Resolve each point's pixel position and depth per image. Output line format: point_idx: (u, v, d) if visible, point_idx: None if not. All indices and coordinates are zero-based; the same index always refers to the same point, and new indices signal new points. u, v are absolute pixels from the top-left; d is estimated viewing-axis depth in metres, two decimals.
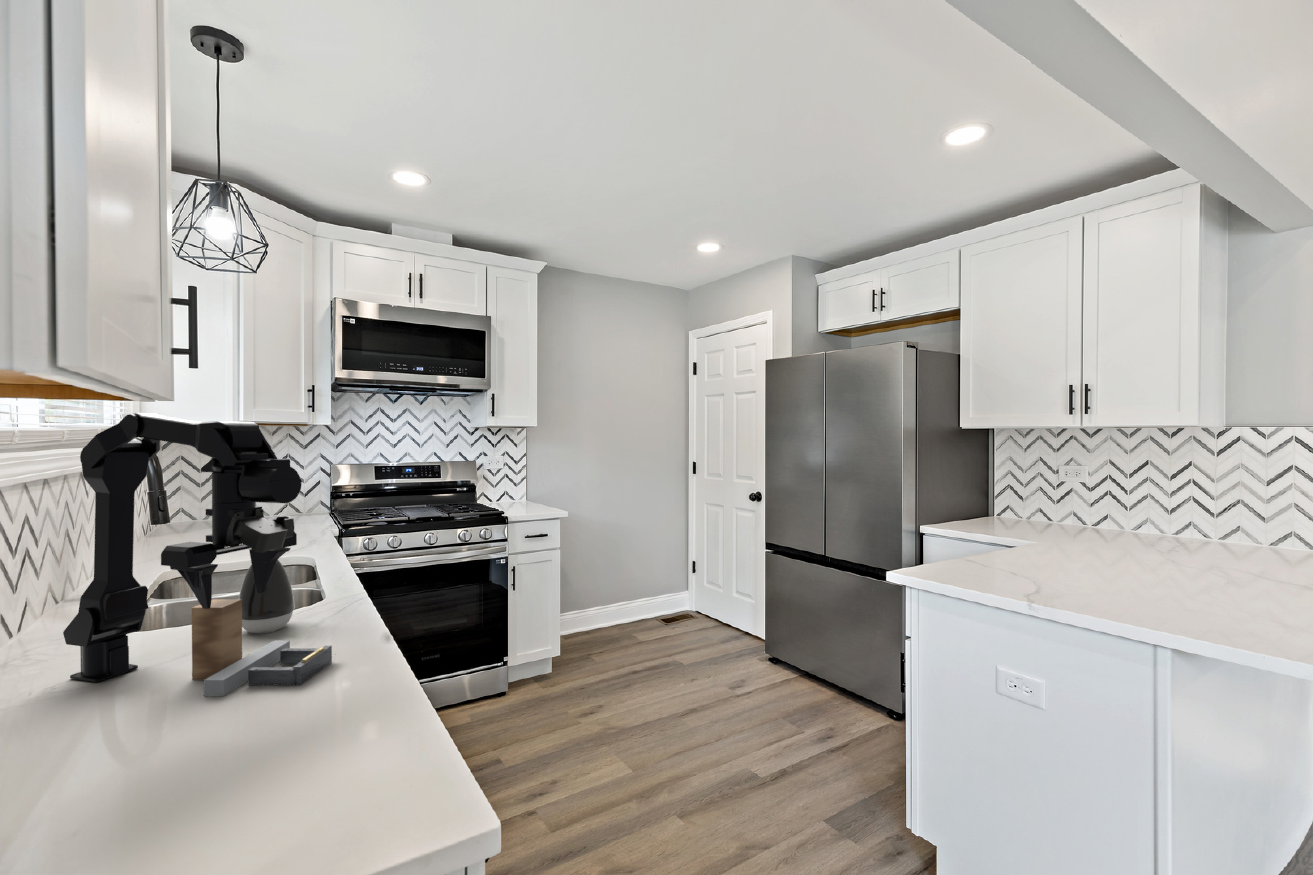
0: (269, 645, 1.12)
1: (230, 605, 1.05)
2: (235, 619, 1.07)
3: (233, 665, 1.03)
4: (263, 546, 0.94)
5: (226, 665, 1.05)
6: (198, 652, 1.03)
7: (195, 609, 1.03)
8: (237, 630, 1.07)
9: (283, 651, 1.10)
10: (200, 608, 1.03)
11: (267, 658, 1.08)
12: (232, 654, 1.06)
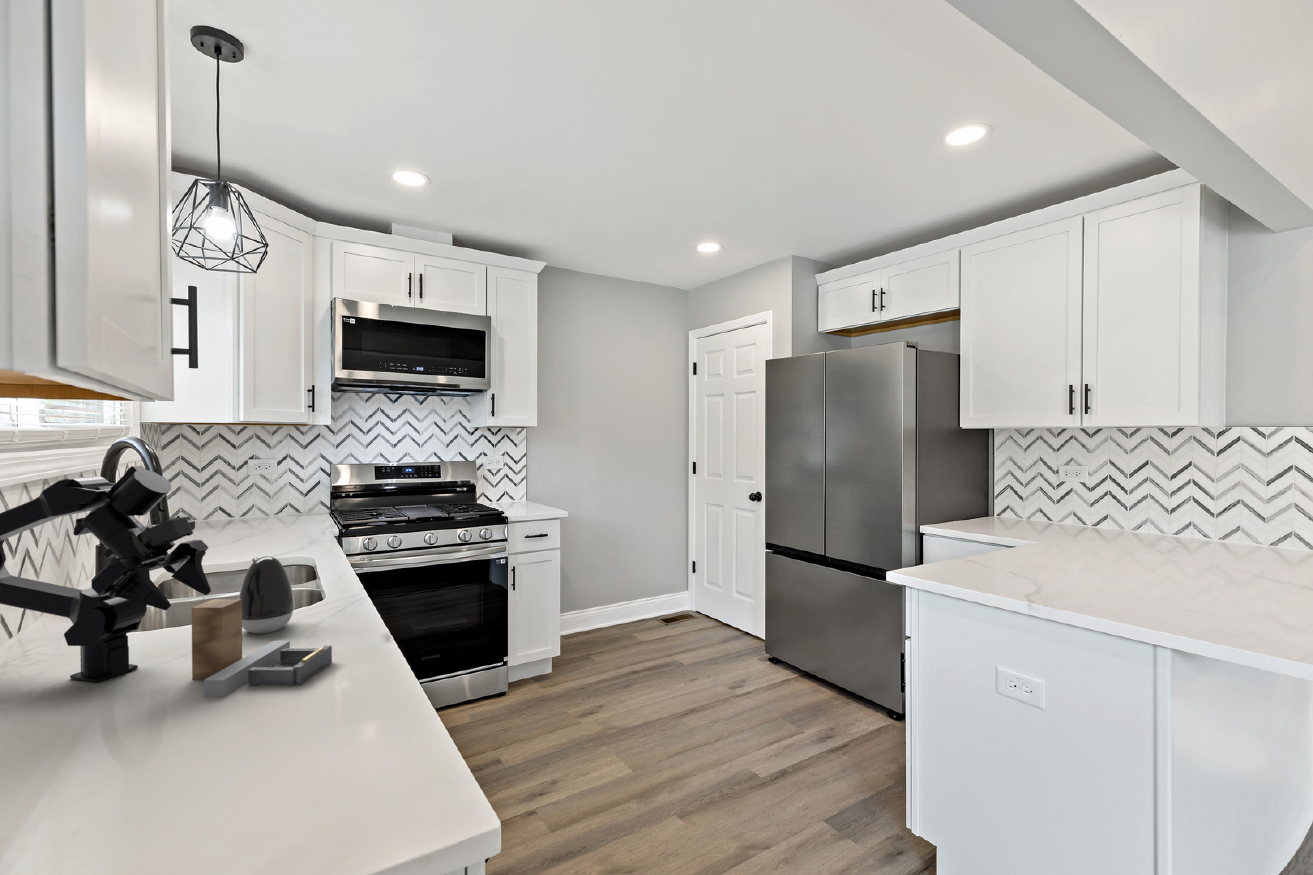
0: (269, 645, 1.12)
1: (230, 605, 1.05)
2: (235, 619, 1.07)
3: (233, 665, 1.03)
4: (175, 531, 1.04)
5: (226, 665, 1.05)
6: (198, 652, 1.03)
7: (195, 609, 1.03)
8: (237, 630, 1.07)
9: (283, 651, 1.10)
10: (200, 608, 1.03)
11: (267, 658, 1.08)
12: (232, 654, 1.06)
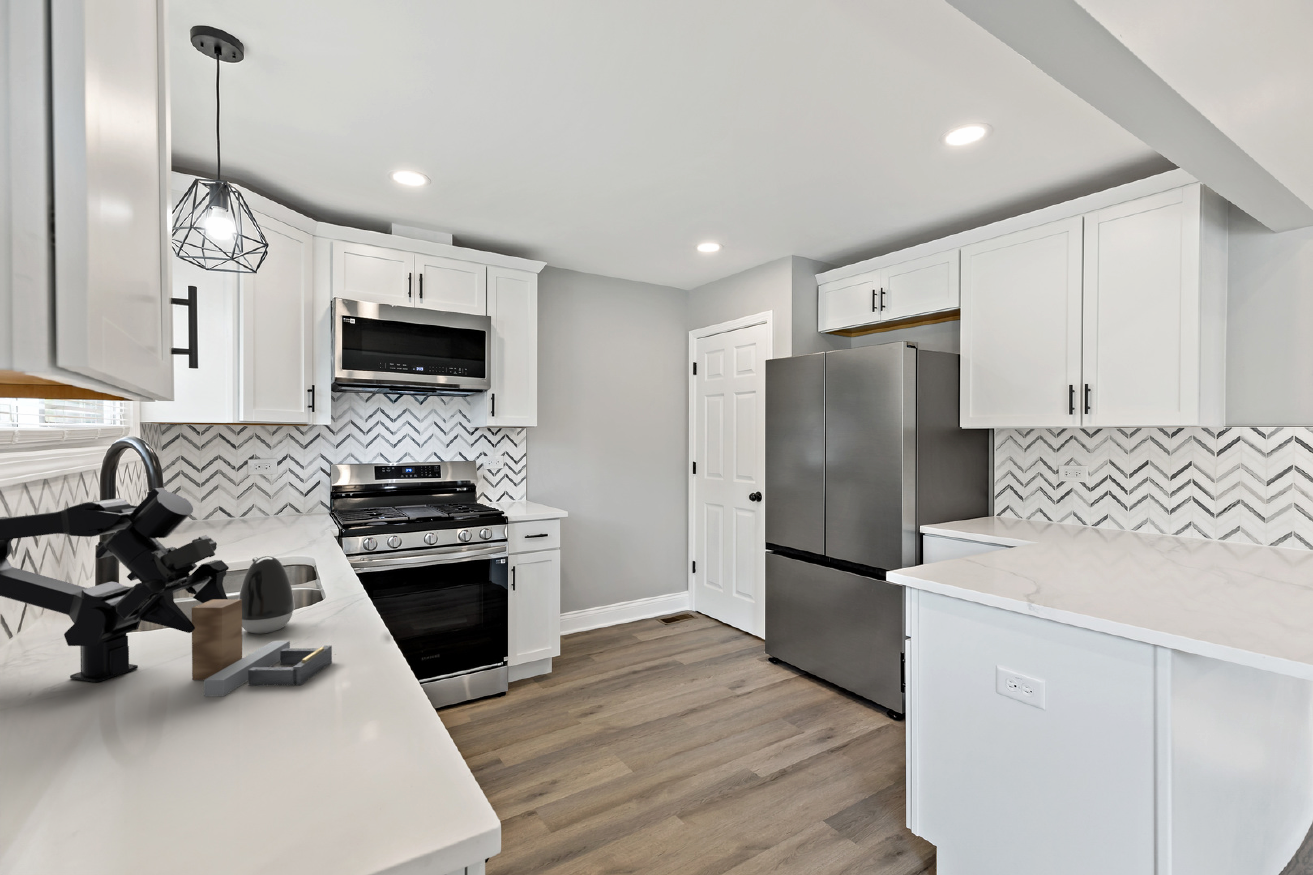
0: (269, 645, 1.12)
1: (230, 605, 1.05)
2: (235, 619, 1.07)
3: (233, 665, 1.03)
4: (197, 553, 1.04)
5: (226, 665, 1.05)
6: (198, 652, 1.03)
7: (195, 609, 1.03)
8: (237, 630, 1.07)
9: (283, 651, 1.10)
10: (200, 608, 1.03)
11: (267, 658, 1.08)
12: (232, 654, 1.06)
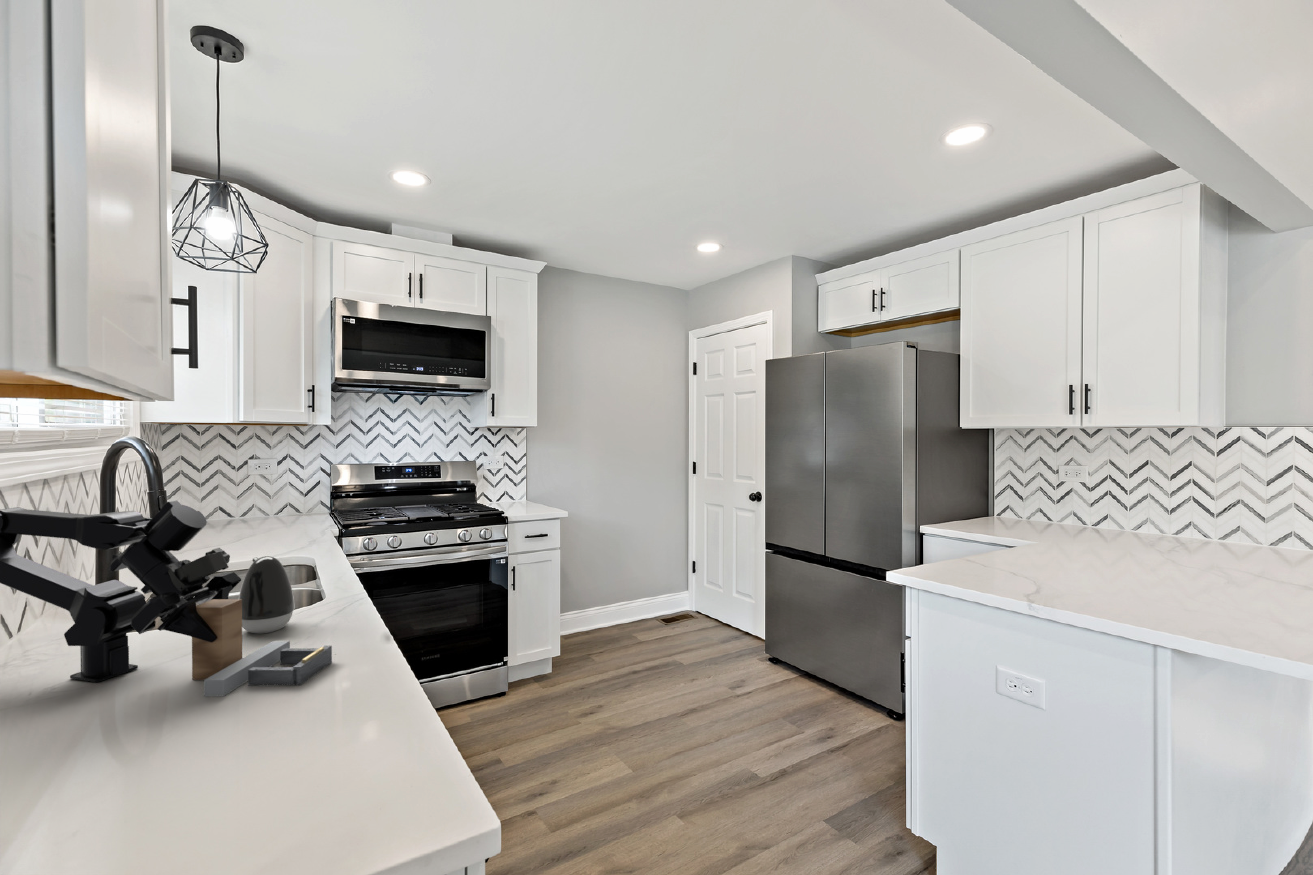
0: (269, 645, 1.12)
1: (230, 605, 1.05)
2: (235, 619, 1.07)
3: (233, 665, 1.03)
4: (211, 566, 1.04)
5: (226, 665, 1.05)
6: (198, 652, 1.03)
7: None
8: (237, 630, 1.07)
9: (283, 651, 1.10)
10: (200, 608, 1.03)
11: (267, 658, 1.08)
12: (232, 654, 1.06)
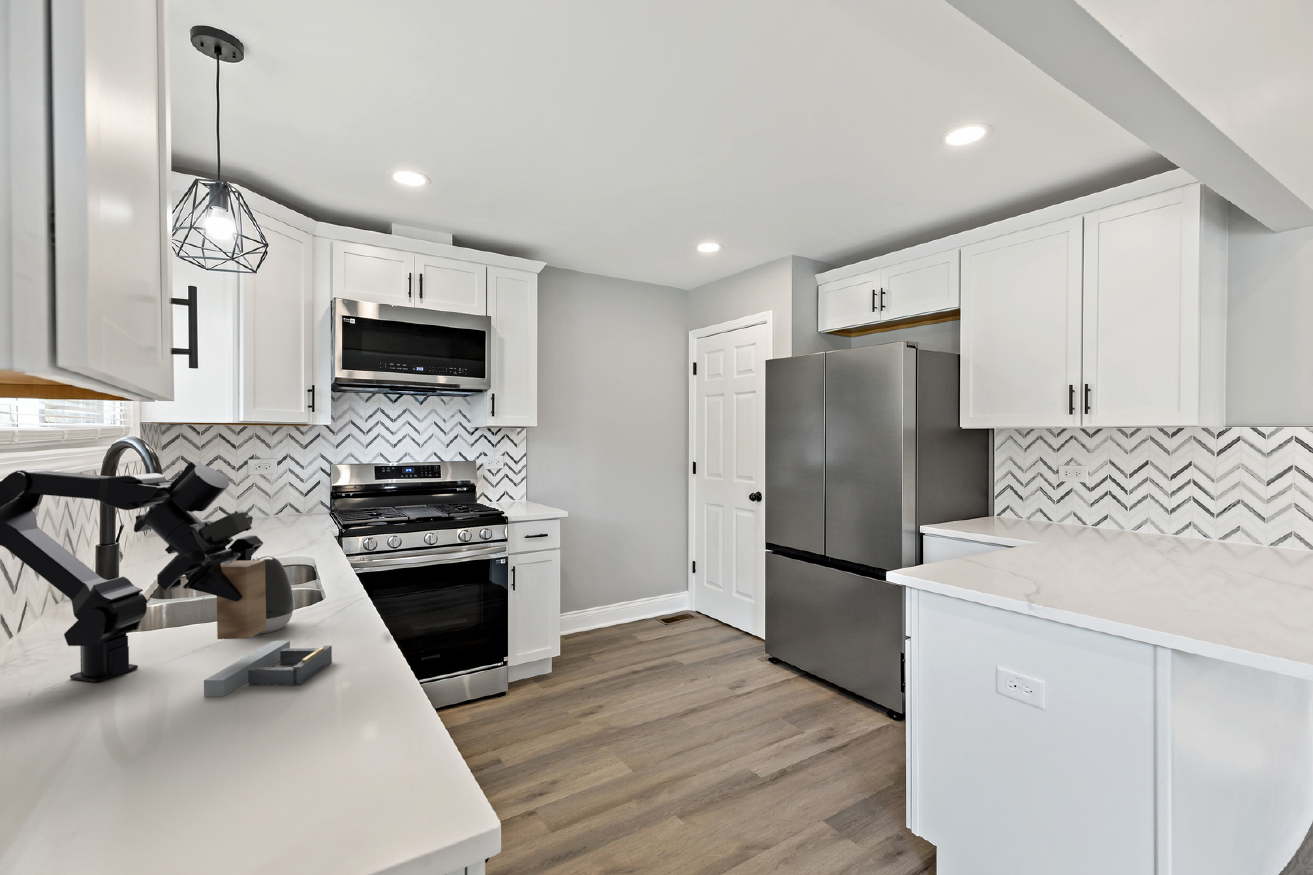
0: (269, 645, 1.12)
1: (254, 565, 1.05)
2: (259, 579, 1.07)
3: (233, 665, 1.03)
4: (235, 526, 1.04)
5: (251, 625, 1.04)
6: (223, 611, 1.03)
7: None
8: (261, 591, 1.07)
9: (283, 651, 1.10)
10: (224, 567, 1.03)
11: (267, 658, 1.08)
12: (256, 614, 1.06)
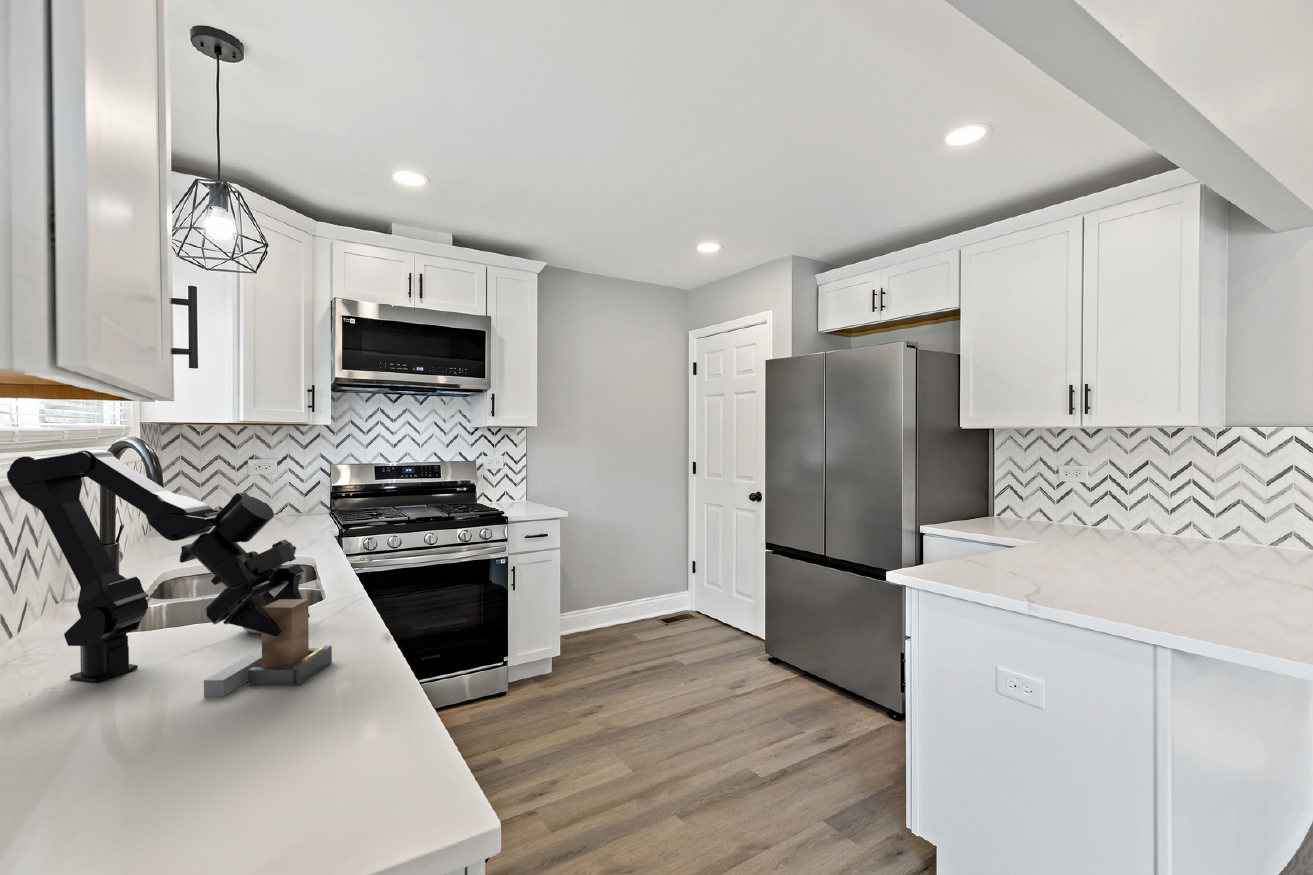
0: None
1: (299, 605, 1.06)
2: (303, 619, 1.07)
3: (233, 665, 1.03)
4: (281, 557, 1.04)
5: None
6: (268, 652, 1.04)
7: (265, 609, 1.04)
8: (304, 630, 1.07)
9: None
10: (270, 608, 1.04)
11: None
12: (300, 654, 1.06)
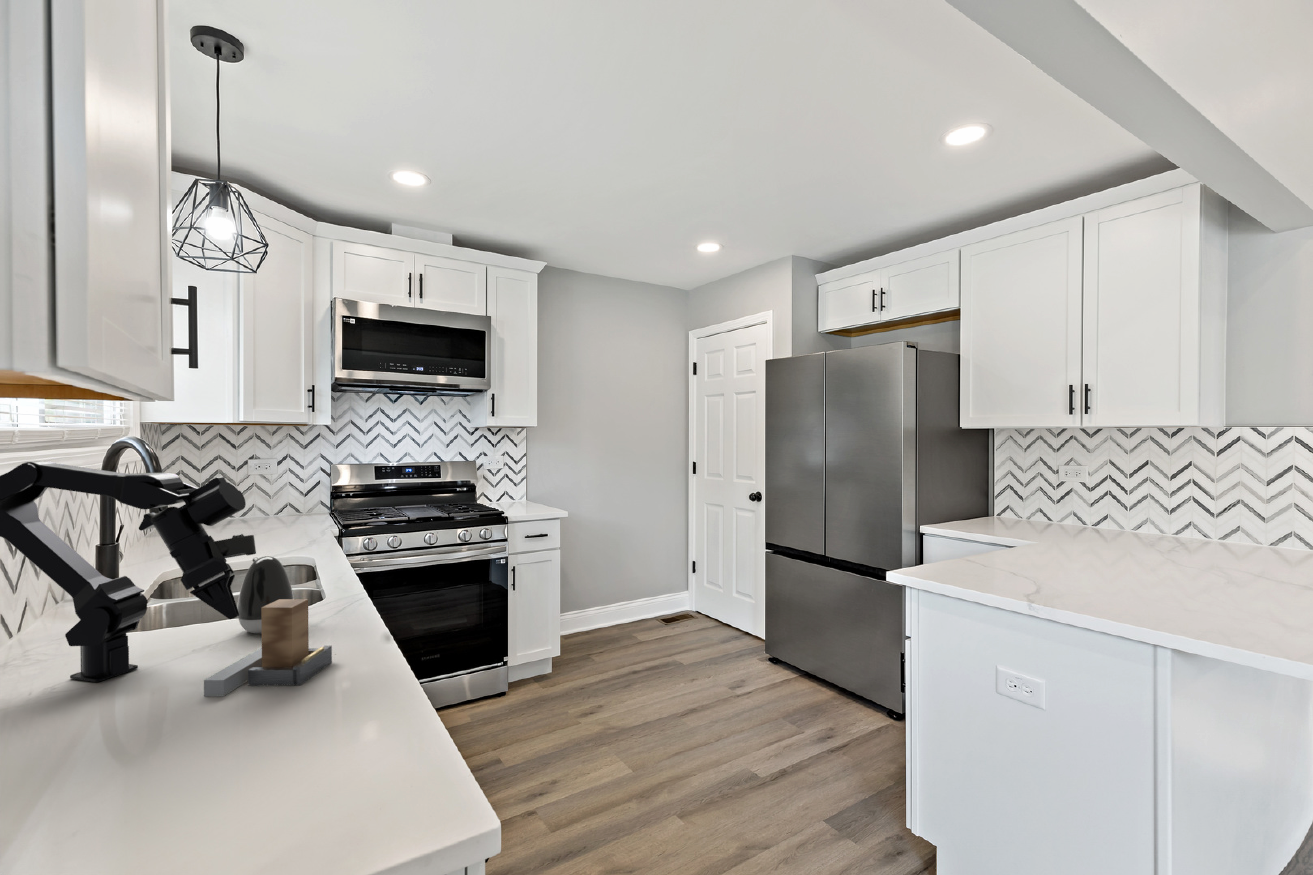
0: None
1: (298, 605, 1.06)
2: (302, 619, 1.07)
3: (233, 665, 1.03)
4: (254, 546, 1.10)
5: None
6: (268, 652, 1.04)
7: (265, 609, 1.04)
8: (304, 630, 1.07)
9: None
10: (270, 608, 1.04)
11: None
12: (300, 654, 1.06)
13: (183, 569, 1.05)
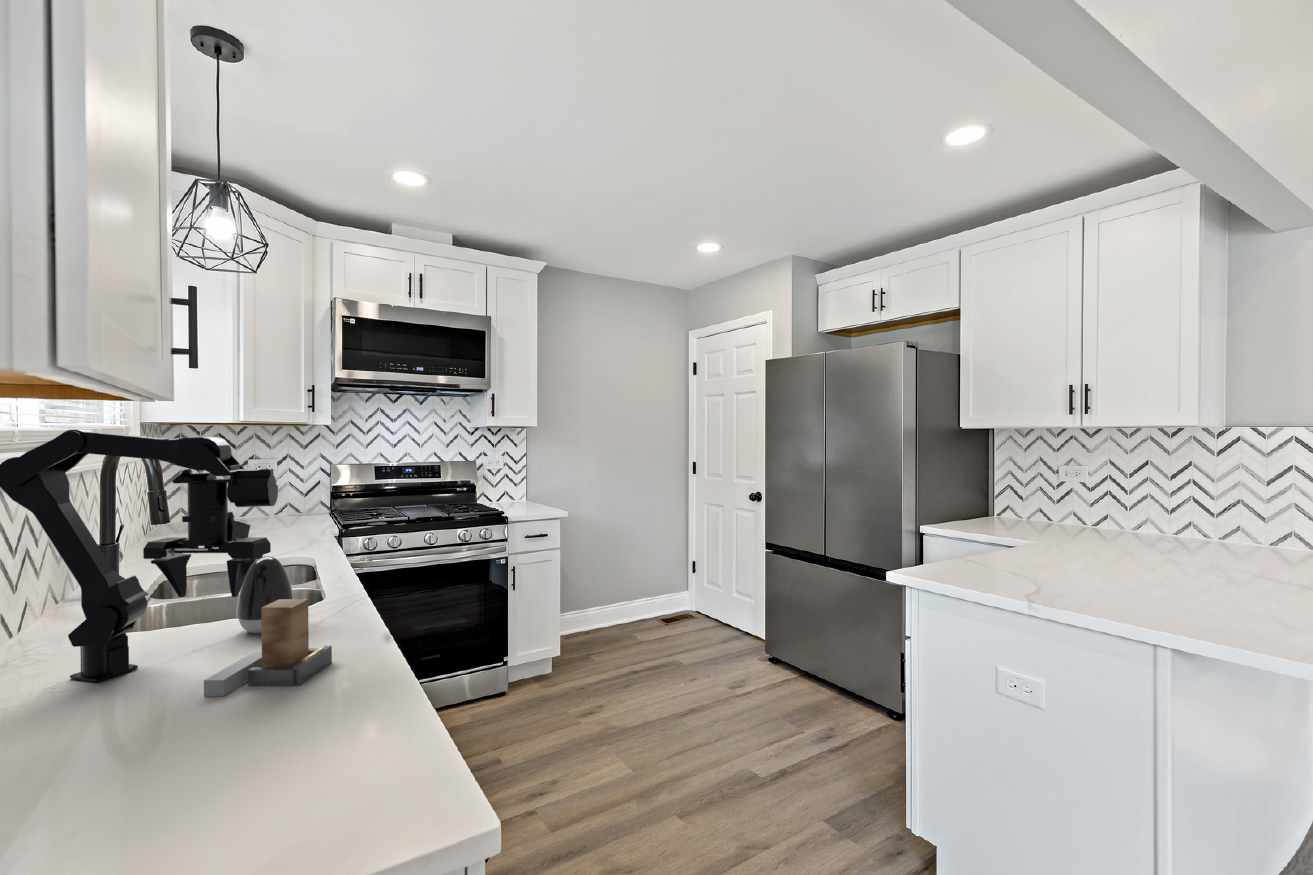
0: None
1: (298, 605, 1.06)
2: (303, 619, 1.07)
3: (233, 665, 1.03)
4: None
5: None
6: (268, 652, 1.04)
7: (265, 609, 1.04)
8: (304, 630, 1.07)
9: None
10: (270, 608, 1.04)
11: None
12: (300, 654, 1.06)
13: (205, 535, 1.07)
